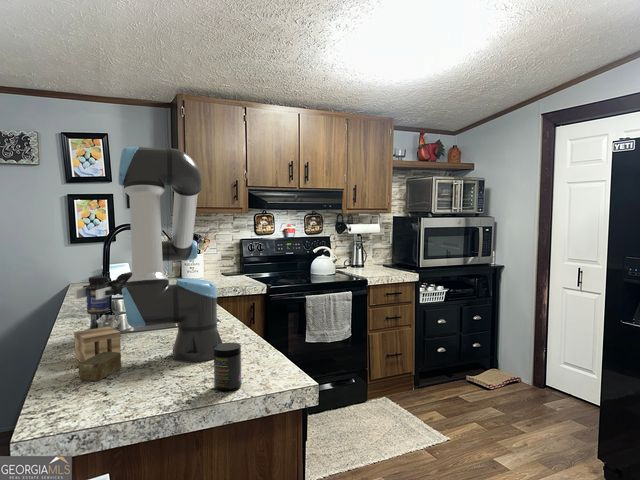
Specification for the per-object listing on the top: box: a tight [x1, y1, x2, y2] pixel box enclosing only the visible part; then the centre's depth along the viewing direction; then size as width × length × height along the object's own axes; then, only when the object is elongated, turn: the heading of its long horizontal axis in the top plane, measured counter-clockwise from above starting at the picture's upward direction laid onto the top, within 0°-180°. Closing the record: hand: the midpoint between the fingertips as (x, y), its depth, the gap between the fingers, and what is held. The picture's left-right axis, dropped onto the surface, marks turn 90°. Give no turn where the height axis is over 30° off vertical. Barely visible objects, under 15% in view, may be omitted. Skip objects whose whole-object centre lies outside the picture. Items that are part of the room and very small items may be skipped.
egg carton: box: [95, 314, 122, 329], centre depth 172 cm, size 11×8×4 cm
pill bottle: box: [86, 275, 110, 316], centre depth 133 cm, size 6×6×11 cm
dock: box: [73, 326, 122, 363], centre depth 132 cm, size 10×10×8 cm
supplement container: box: [213, 342, 243, 393], centre depth 108 cm, size 7×7×10 cm
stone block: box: [78, 351, 122, 382], centre depth 118 cm, size 6×12×5 cm, turn 172°
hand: (86, 294), depth 128 cm, fingers closed on pill bottle, 6 cm apart
